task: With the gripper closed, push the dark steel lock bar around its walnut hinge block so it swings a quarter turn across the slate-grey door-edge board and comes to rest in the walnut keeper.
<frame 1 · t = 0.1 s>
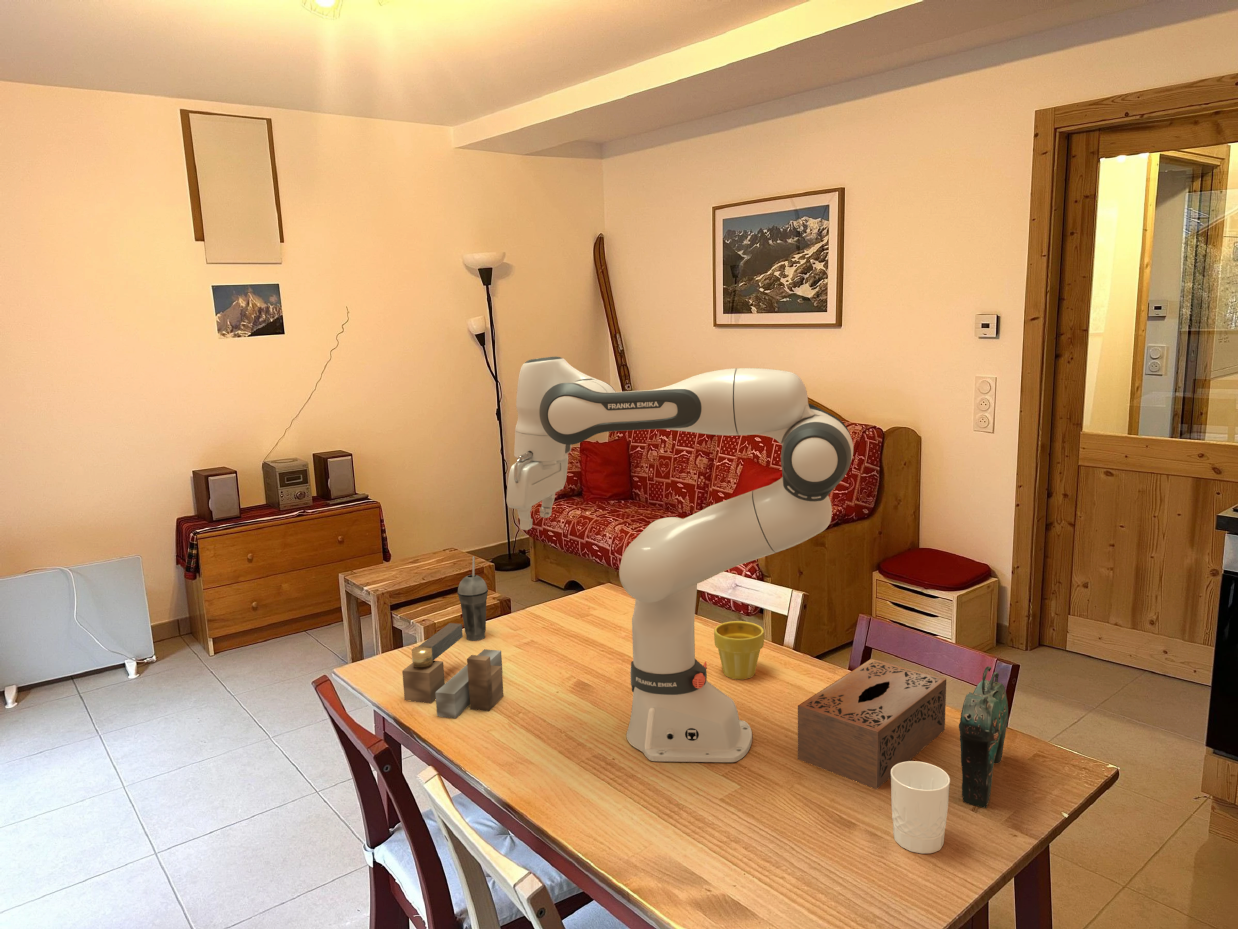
hand: (536, 522, 153), 39 cm above the table, tool pointing down, fingers open, 8 cm apart
white cup: (918, 841, 121), on the table
door jamb: (460, 694, 174), on the table
tissue box cover: (873, 746, 148), on the table
plant pot: (739, 674, 179), on the table
lock bar: (437, 644, 178), point 8 cm above the table, hinge at 0.0°
beverage cup: (475, 638, 205), on the table
dark green upright piece: (981, 781, 136), on the table
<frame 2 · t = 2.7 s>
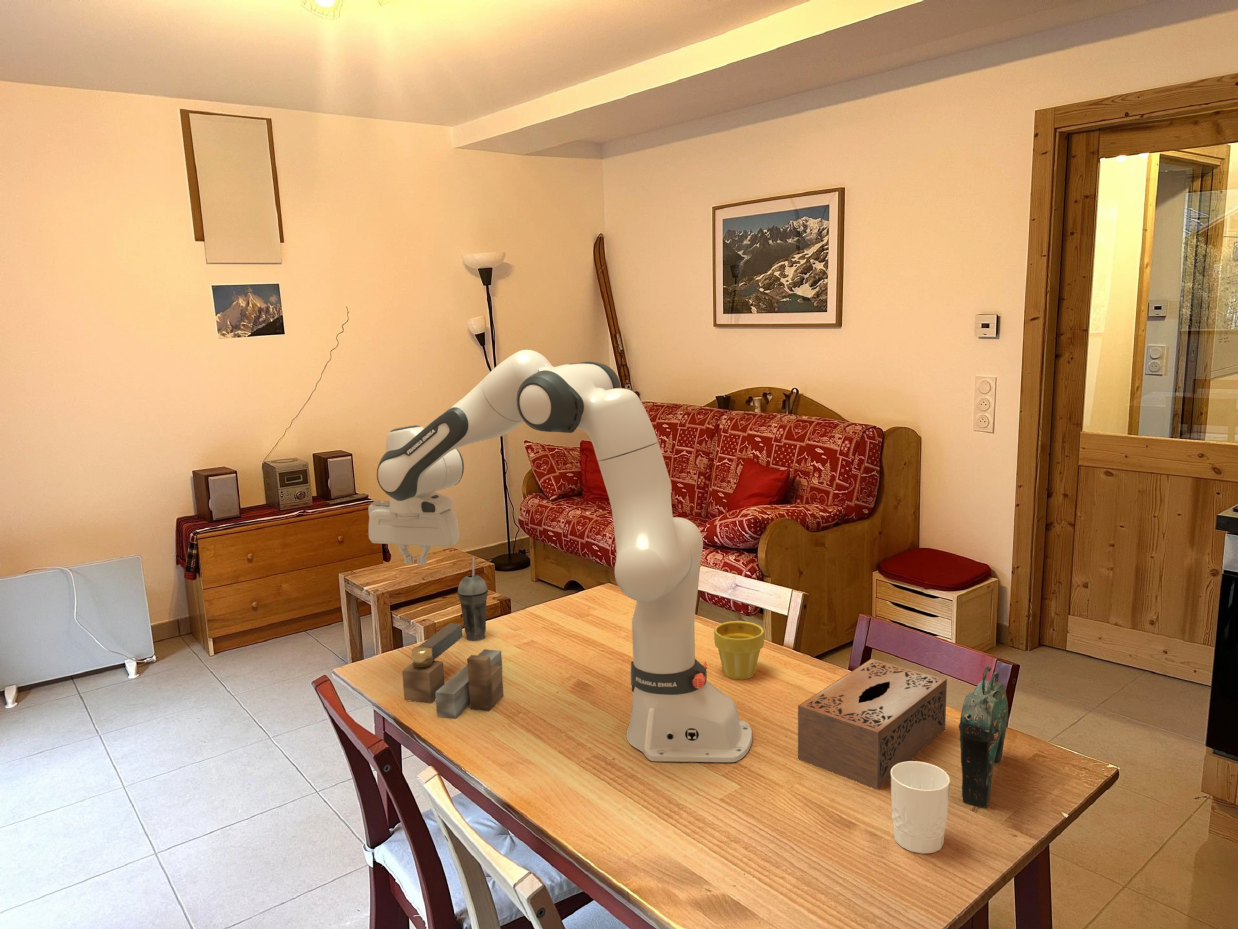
hand: (415, 564, 183), 24 cm above the table, tool pointing down, fingers closed
nothing on the table moved.
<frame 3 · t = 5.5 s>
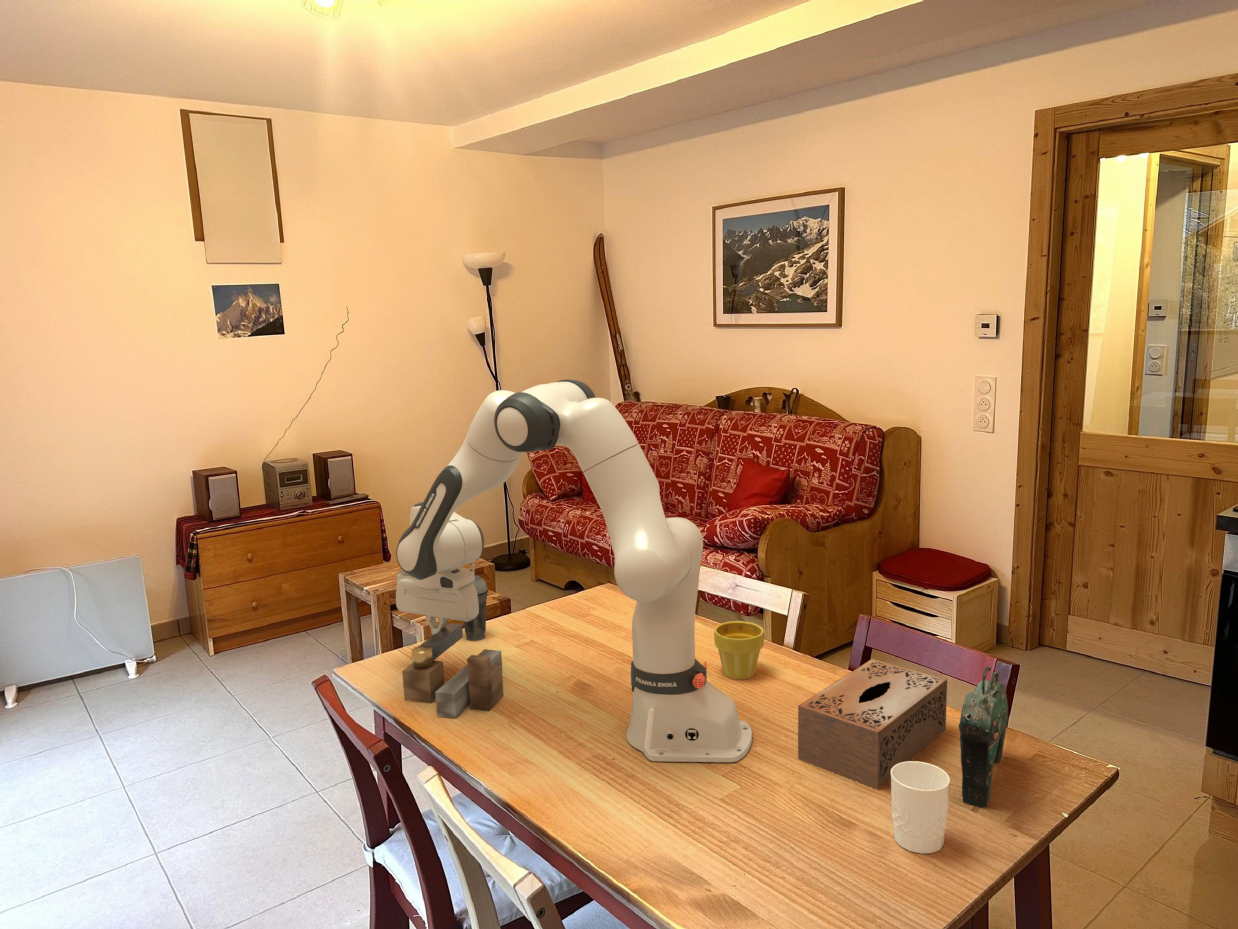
hand: (438, 634, 185), 8 cm above the table, tool pointing down, fingers closed
lock bar: (437, 644, 178), point 8 cm above the table, hinge at 0.3°, touching gripper
everything else where it was.
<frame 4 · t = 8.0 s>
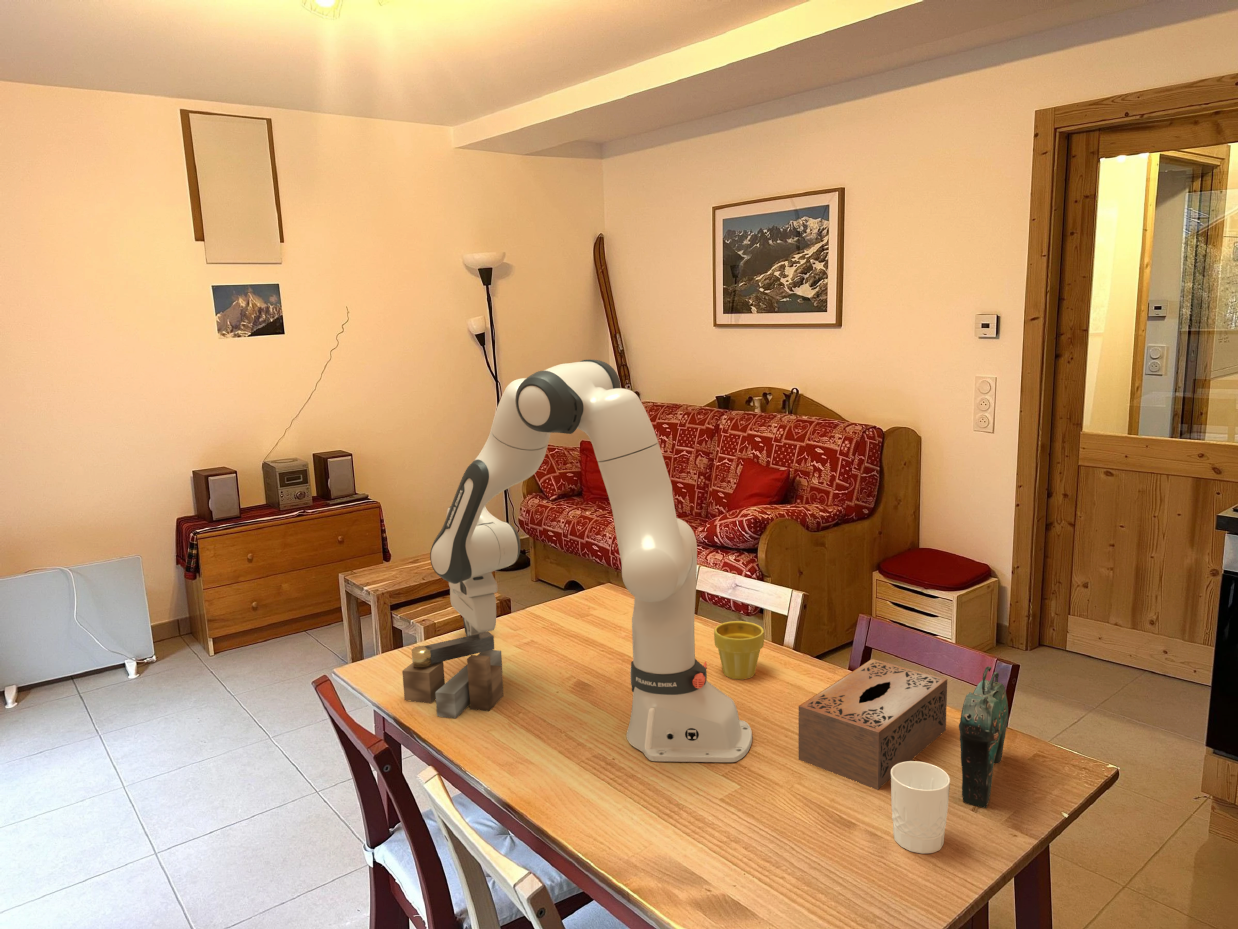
hand: (473, 638, 180), 9 cm above the table, tool pointing down, fingers closed
lock bar: (452, 649, 175), point 8 cm above the table, hinge at 43.5°, touching gripper
everything else where it was.
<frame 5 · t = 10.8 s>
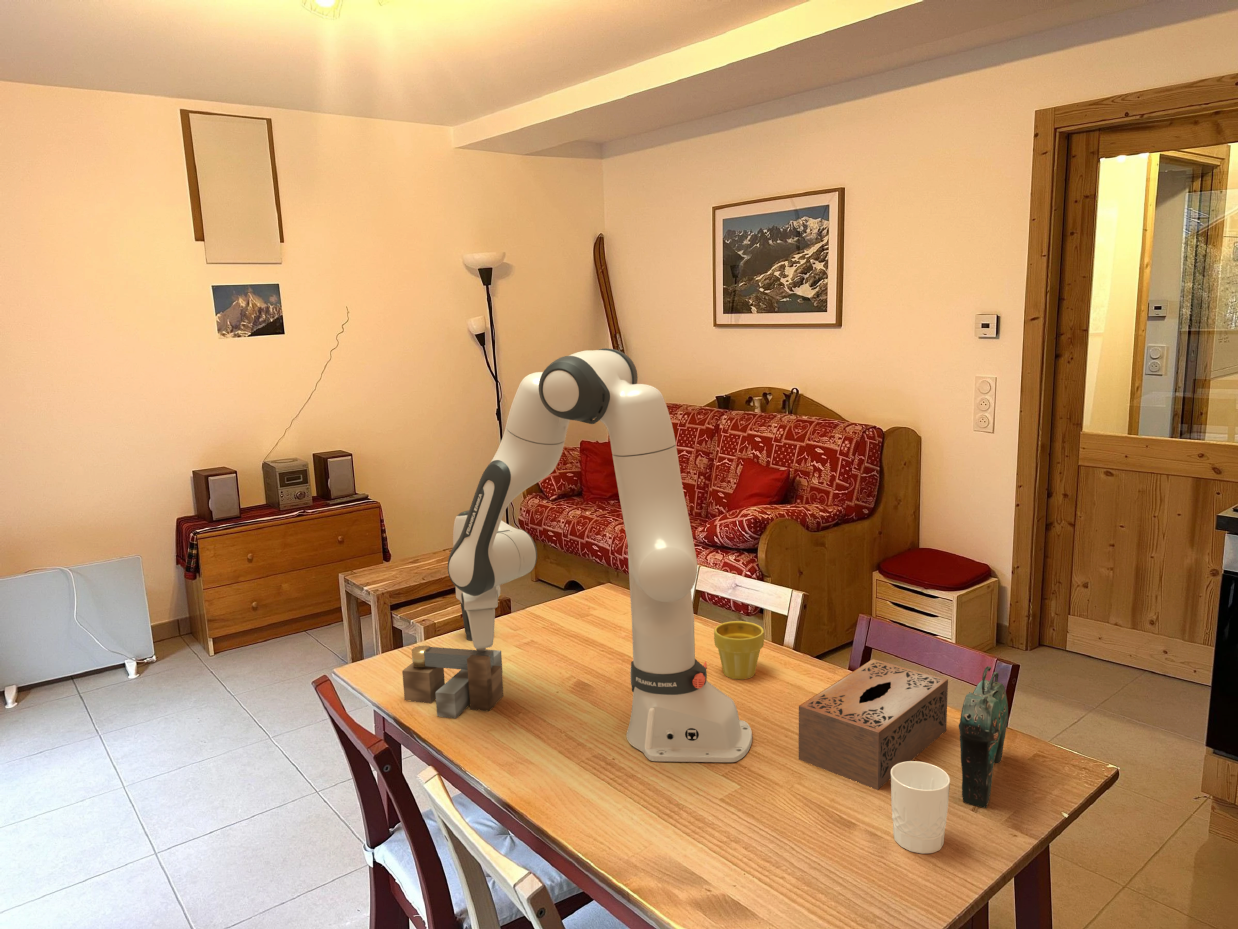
hand: (481, 652, 172), 9 cm above the table, tool pointing down, fingers closed
lock bar: (451, 658, 171), point 8 cm above the table, hinge at 88.1°, touching gripper
everything else where it was.
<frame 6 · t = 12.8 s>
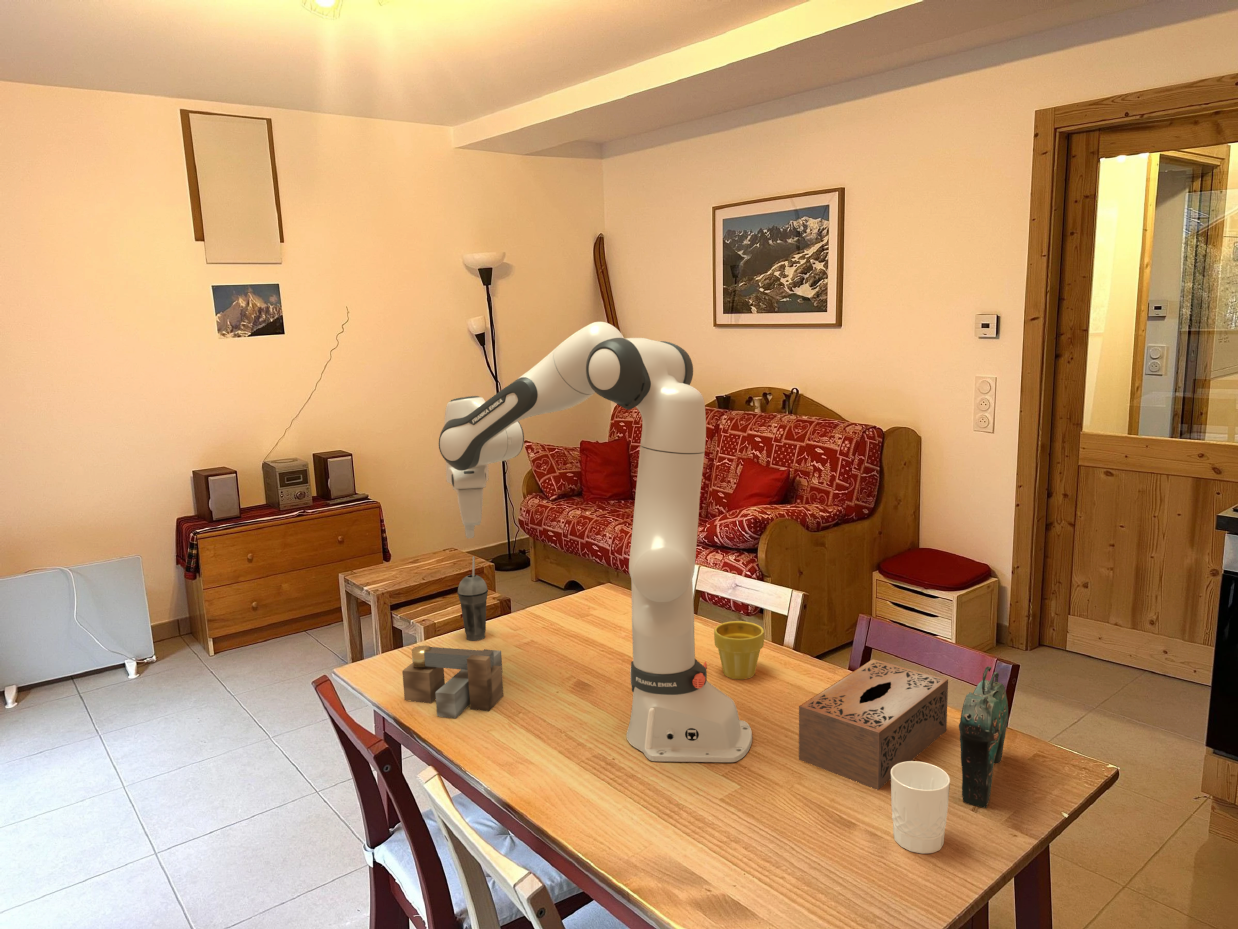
hand: (469, 536, 181), 30 cm above the table, tool pointing down, fingers closed
lock bar: (451, 658, 171), point 8 cm above the table, hinge at 88.1°
everything else where it was.
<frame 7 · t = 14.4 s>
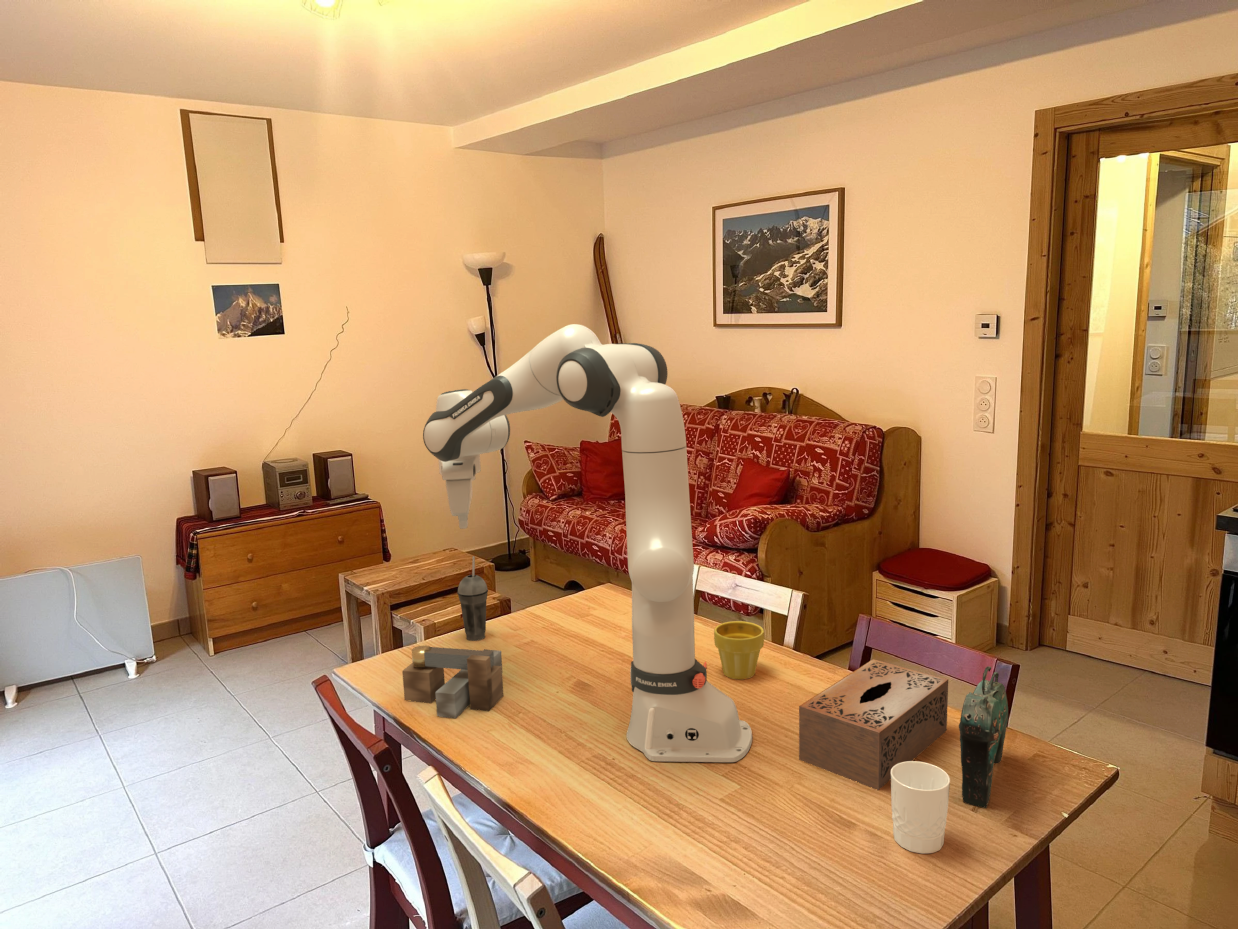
hand: (463, 527, 185), 31 cm above the table, tool pointing down, fingers closed
nothing on the table moved.
at the end: lock bar at +88° (first picture: +0°); beverage cup moved 0.2 cm from its start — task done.
